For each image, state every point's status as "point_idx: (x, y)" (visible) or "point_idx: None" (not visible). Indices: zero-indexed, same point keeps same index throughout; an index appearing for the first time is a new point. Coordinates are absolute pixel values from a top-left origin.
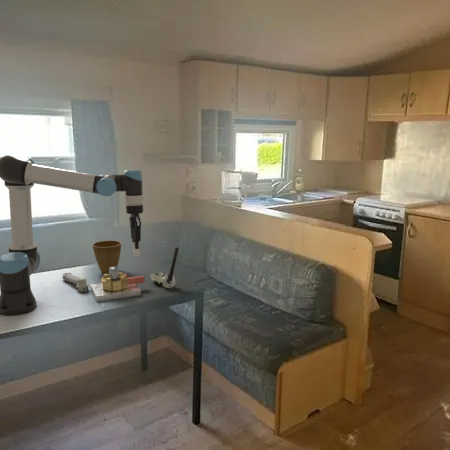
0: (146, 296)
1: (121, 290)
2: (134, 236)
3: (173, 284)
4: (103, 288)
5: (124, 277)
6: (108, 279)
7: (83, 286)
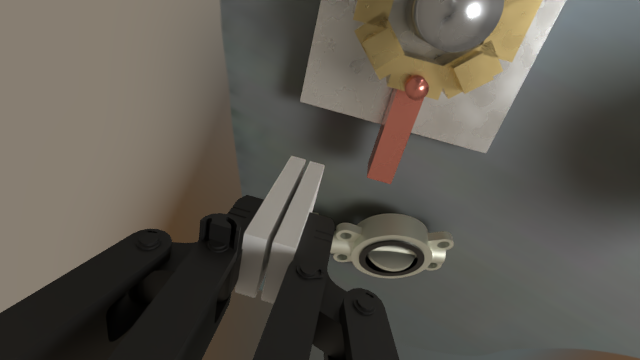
0: (278, 108)
1: None
2: (159, 295)
3: None
4: None
5: (368, 54)
6: None
7: None
